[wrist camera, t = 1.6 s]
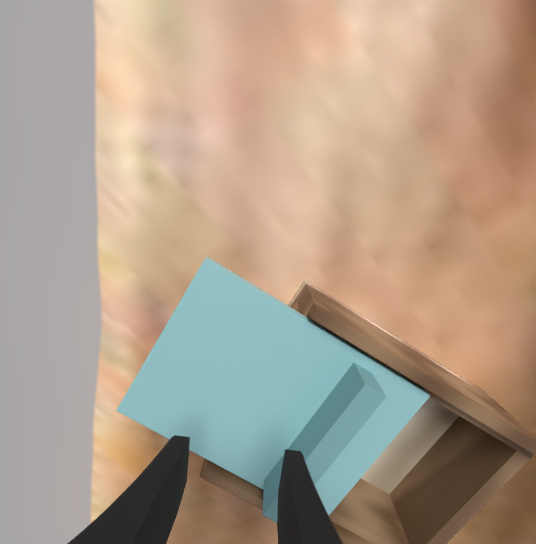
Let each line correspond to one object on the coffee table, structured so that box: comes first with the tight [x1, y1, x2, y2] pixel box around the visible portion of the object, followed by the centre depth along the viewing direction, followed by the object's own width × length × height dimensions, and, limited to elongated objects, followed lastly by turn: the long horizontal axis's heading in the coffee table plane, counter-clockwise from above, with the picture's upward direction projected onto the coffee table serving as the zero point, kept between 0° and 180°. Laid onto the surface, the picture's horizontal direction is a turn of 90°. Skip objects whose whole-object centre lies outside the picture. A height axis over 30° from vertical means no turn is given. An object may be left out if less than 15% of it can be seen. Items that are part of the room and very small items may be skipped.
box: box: [200, 281, 536, 544], centre depth 19 cm, size 16×12×6 cm
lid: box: [116, 257, 430, 522], centre depth 15 cm, size 14×10×3 cm
